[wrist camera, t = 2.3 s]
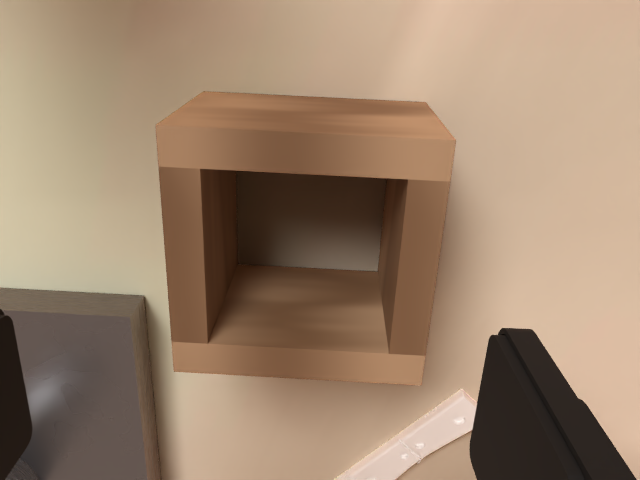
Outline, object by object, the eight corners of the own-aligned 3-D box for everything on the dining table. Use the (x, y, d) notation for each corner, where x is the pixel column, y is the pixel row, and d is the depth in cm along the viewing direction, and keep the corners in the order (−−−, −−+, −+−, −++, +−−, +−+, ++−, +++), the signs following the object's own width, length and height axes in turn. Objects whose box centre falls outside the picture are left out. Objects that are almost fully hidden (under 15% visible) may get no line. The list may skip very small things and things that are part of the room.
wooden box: (426, 102, 18) (455, 140, 13) (403, 297, 20) (421, 385, 16) (203, 91, 18) (155, 124, 13) (211, 287, 21) (173, 371, 16)
